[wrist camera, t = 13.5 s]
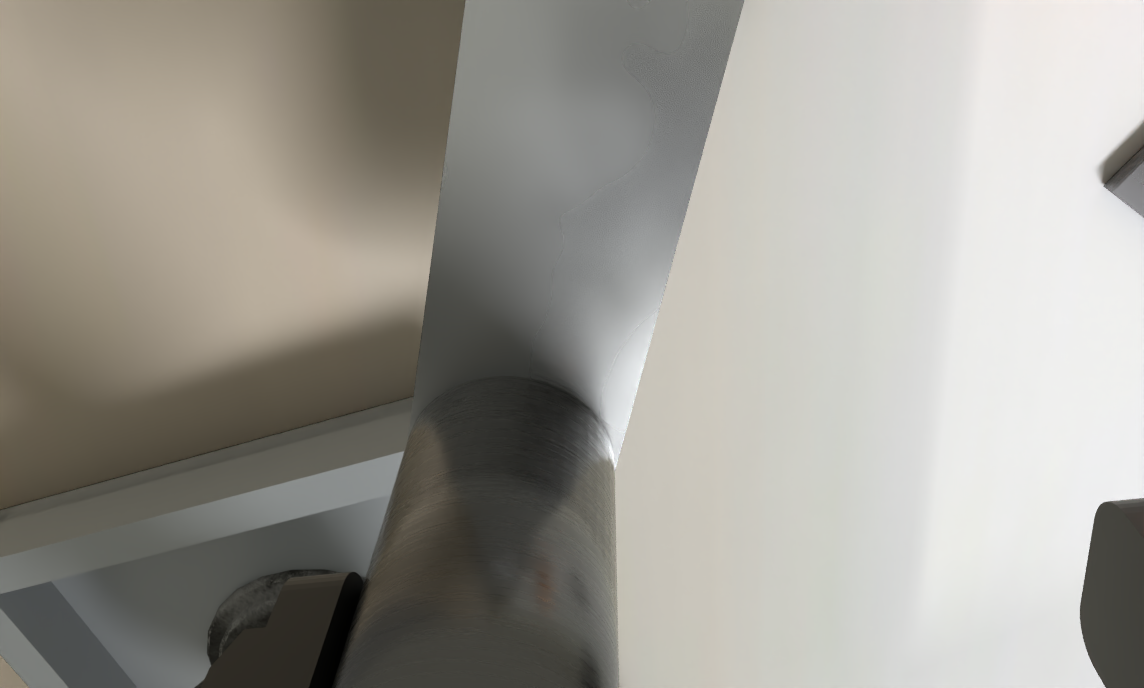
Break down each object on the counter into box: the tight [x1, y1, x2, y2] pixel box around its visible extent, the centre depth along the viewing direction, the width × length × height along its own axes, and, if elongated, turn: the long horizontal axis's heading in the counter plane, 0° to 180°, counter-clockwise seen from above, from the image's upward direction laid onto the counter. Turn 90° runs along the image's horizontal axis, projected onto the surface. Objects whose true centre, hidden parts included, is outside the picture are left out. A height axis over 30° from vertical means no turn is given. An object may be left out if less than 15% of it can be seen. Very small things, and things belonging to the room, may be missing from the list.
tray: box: [0, 397, 413, 688], centre depth 20 cm, size 11×11×2 cm
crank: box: [332, 0, 744, 688], centre depth 8 cm, size 13×5×8 cm, turn 169°
